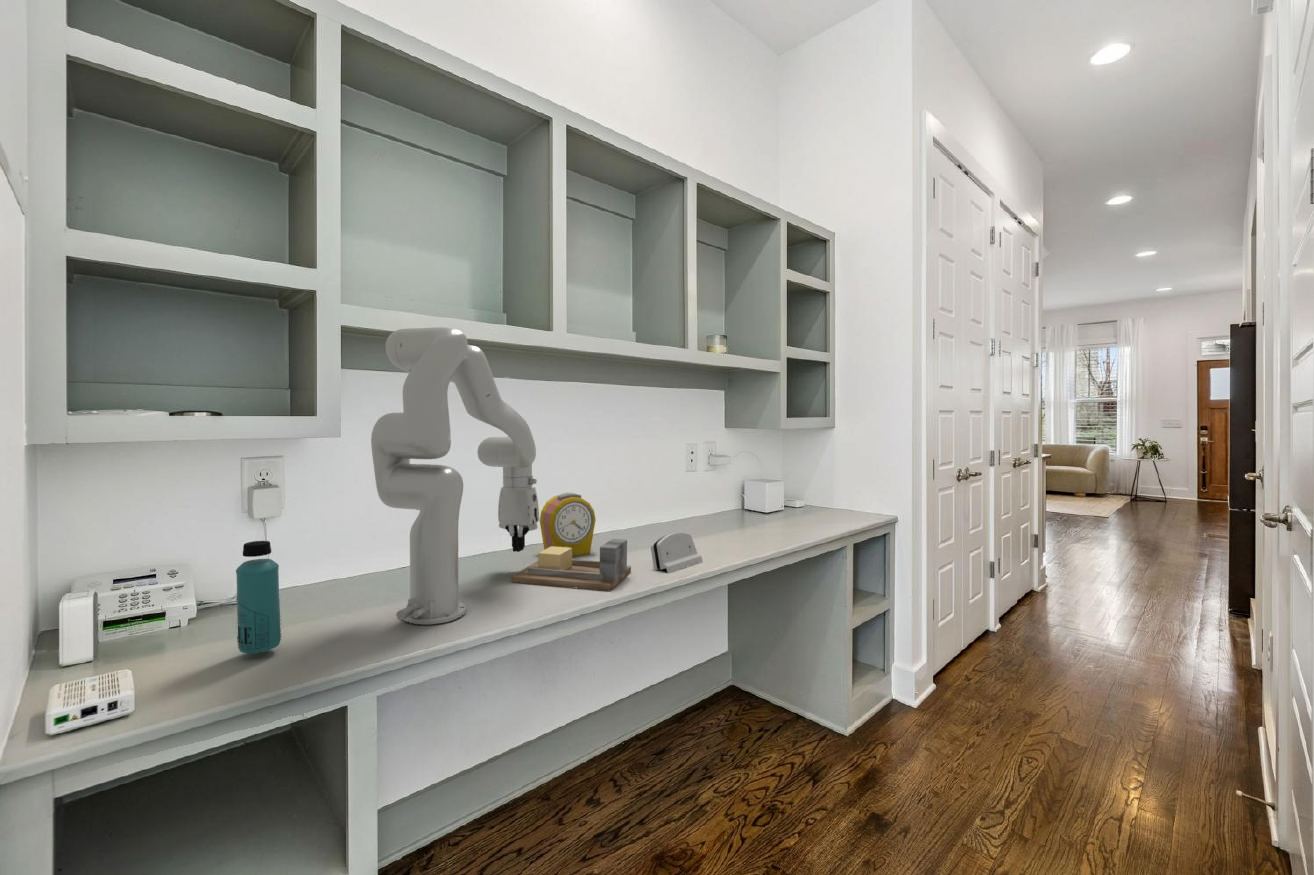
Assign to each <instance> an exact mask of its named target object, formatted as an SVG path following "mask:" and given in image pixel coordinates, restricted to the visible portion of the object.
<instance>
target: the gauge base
mask: <svg viewBox="0 0 1314 875" xmlns="http://www.w3.org/2000/svg"><path fill="white" fill-rule="evenodd" d="M627 562H628V539H619V538H612V539H610V540H609V541H607V542H606V543H604V544H602V545H601V546H600V547H599V560H590V559H577V558H572V567H570V568H569V569H567V570H557V569H545V568H538V560H537V561H535V562H534V563H532V564H530V565H528V566H527V567H525V568H523V569H521V570H520V571H518V572H516V573H514V574H513V575H511V576H510V581H511V583H515V582H520V583H519V584H526V583H530V584H529V585H537V584H539V586H548V585H550V587H559V586H560V587H561V588H570V587H577V588H576V589H581V588H585V589H584V590H592V589H597V590H596V591H603V590H605V591H604V592H611V591H612V590H613V589H614V588H615V587H616V586H617V585H618V584H619V583H620V582H621V581H623V579H625V578H626V577H627V576H628V575H629V574H630V573H632V566H631V565H628V564H627ZM613 587H614V588H613ZM612 588H613V589H612ZM611 589H612V590H611Z"/></svg>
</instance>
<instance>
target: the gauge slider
mask: <svg viewBox="0 0 1314 875" xmlns="http://www.w3.org/2000/svg"><path fill="white" fill-rule="evenodd" d="M537 557H538V558H537V561H538V568H545V569H557V570H567V569H569V568H570V567H572V559H573V556H572V548H570V546H566V547H554V546H551V547H549V548H547V549H545V550H544V549H543V550H542V551H540V552H538V556H537Z"/></svg>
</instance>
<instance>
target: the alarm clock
mask: <svg viewBox="0 0 1314 875" xmlns="http://www.w3.org/2000/svg"><path fill="white" fill-rule="evenodd" d="M595 514H596V513H595V509H594V508H593V506H592V505H591V504H590V502H588V501H587V500H585V498H582V495H581V494H578V493H574V492H564V493H561V494H558V495H555V496H553V497H551V498H550V499H548V500H547V501H546V502H545V504H544V505H543V508H542V509H541V510H540V514H539V525H540V531H541V532H540V533H541V537H542V544H543V550H545V549H547V548H549V547H551V546H554V547H566V546H570V548H572V557H573V556H581V555H586V554H587V555H588V554H591V549H592V544H593V543H592V542H593V537H594V531H595V525H596V521H597V518H596V515H595Z"/></svg>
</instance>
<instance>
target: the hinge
mask: <svg viewBox="0 0 1314 875" xmlns="http://www.w3.org/2000/svg"><path fill="white" fill-rule="evenodd" d="M650 551H651V552H650V553H651V557H652V558H651V559H652V565H653V570H654V571H658V570H664V569H666V574H671V573H675V572H677V570H678V571H681V570H683V569H685V568H684V567H686V568H688V567H687V566H689V567H692V566H695V565H698V564H701V563H703V562H704V561H703V558H702V555H701V554H699V552H698V551H697V548H696V545H695V543H694V540H693V536H692V535H691V534H689V533H684V532H675V533H671V534H670V533H669V534H666V535H664V536H662V537H659V538H658V539H657V540H655V541H654V542H653V543H651V545H650ZM700 562H701V563H700ZM697 563H698V564H697ZM682 568H683V569H682Z"/></svg>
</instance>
